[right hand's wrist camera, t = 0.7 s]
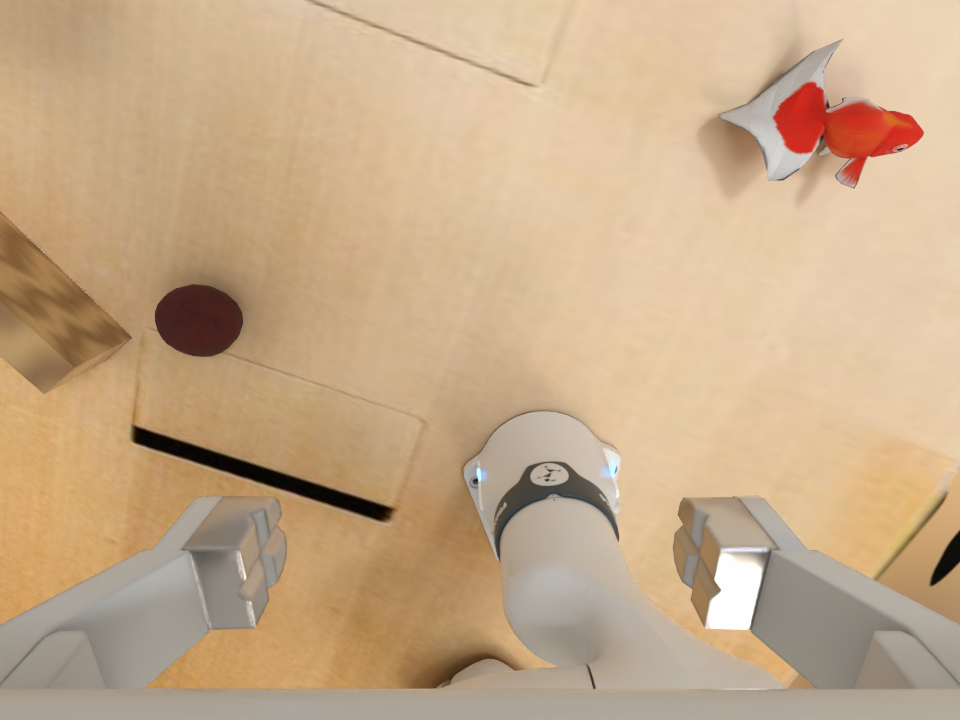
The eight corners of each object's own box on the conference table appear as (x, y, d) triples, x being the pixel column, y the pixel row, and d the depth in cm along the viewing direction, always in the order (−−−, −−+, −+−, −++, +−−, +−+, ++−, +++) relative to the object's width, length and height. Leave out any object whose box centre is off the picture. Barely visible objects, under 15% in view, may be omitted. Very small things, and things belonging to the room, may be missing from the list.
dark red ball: (170, 282, 54) (127, 300, 48) (241, 272, 54) (209, 288, 47) (194, 347, 57) (156, 373, 50) (262, 338, 57) (234, 363, 50)
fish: (849, 240, 48) (909, 193, 39) (689, 177, 52) (708, 120, 43) (906, 140, 48) (980, 67, 39) (742, 84, 52) (772, 6, 43)
